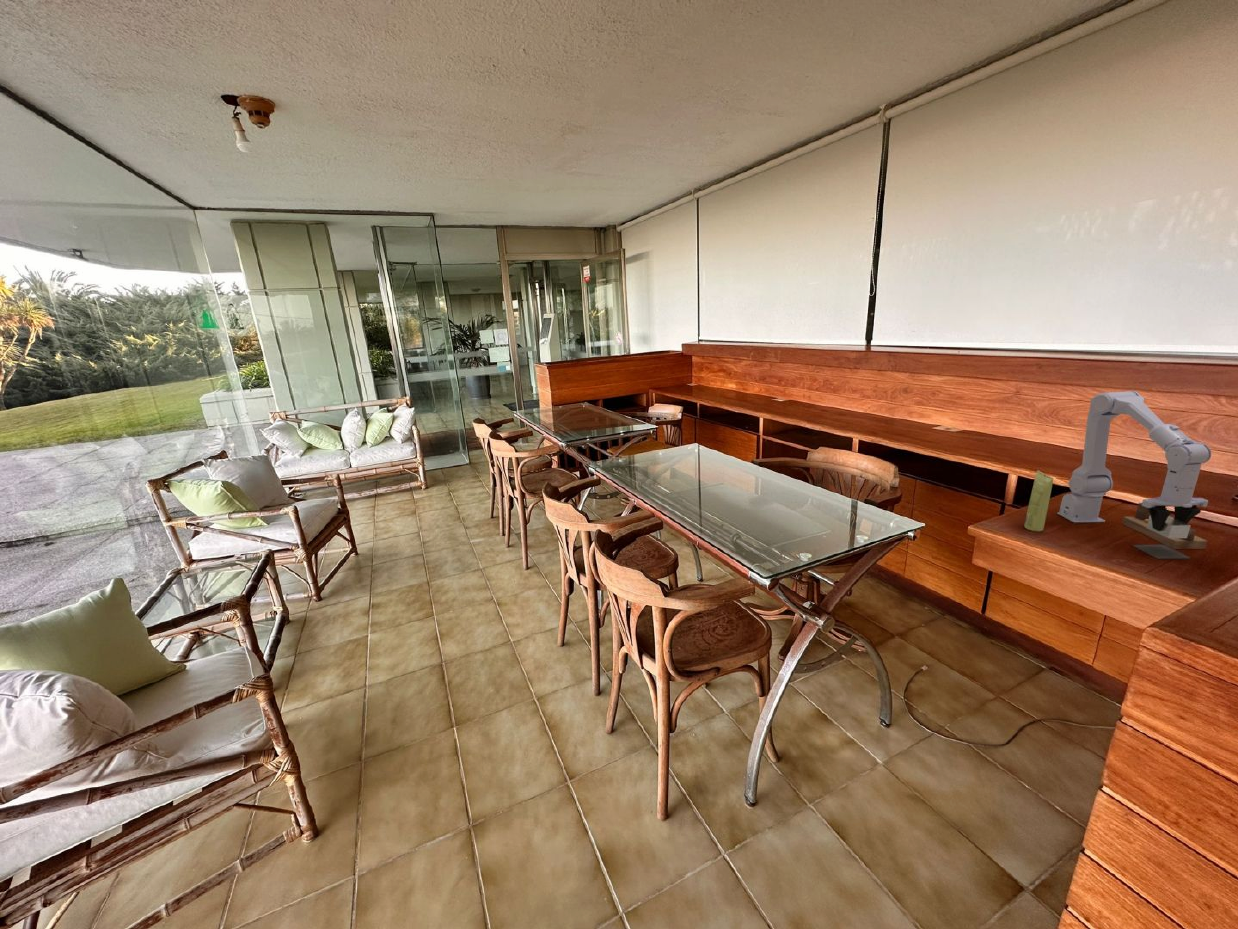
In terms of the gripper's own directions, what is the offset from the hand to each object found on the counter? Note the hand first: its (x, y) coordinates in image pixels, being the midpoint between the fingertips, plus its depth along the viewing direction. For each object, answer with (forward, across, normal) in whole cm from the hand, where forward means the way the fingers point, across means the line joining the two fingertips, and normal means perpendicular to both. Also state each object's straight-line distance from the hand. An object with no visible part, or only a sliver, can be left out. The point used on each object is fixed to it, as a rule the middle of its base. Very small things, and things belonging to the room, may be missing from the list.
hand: (1167, 529), depth 139 cm
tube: (+8, -23, +17) cm, 30 cm away
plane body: (+7, +9, +11) cm, 16 cm away
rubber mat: (+7, 0, 0) cm, 7 cm away
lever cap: (+1, 0, 0) cm, 1 cm away
